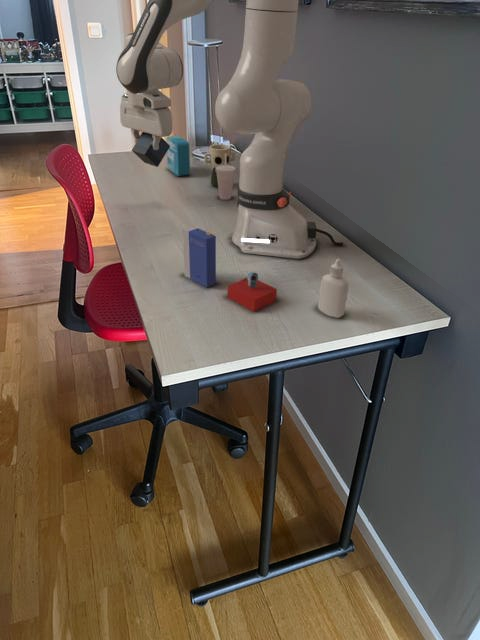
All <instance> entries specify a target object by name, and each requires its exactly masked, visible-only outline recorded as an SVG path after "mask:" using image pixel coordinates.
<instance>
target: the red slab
mask: <svg viewBox="0 0 480 640" xmlns="http://www.w3.org/2000/svg"><path fill="white" fill-rule="evenodd" d="M277 291H278V289H277V288H276V287H273V286H272V285H269V284H268V283H265V282H263V281H261V280H259V275H258V273H257V272H249V274H248V275H247V277H245V278H243V279H240V280H238V281H236V282H233V283H231V284H229V285H227V298H228V299H229V300H231V301H233V302H236V303H237V304H239V305H241V306H243V307H245V308H246V309H248V310H250V311H252V312H256V311H258V310H260V309H263V308H264V307H266V306H268V305H270V304H272V303H274V302H275V301H277V294H278V293H277Z"/></svg>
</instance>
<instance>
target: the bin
mask: <svg viewBox="0 0 480 640" xmlns="http://www.w3.org/2000/svg"><path fill="white" fill-rule="evenodd" d="M139 135H140V137H139V139H138V140H137V142H136V144H135V143H134V145H133V147H132V148H131V151H132V152H133V153H134V154H135V155H136V156H137V157H138V158H139V160H141V161H142V162H143V163H144V164H147V165H151V166H152V167H153V166H154V167H156V168H159V166H160V164H161V163H162V161H163V159H164V157H165V156H166V155H167V151H168V149H169V147H170V145H169V144H168V143H167V142H166V140H165V139H164V137H161V139H160V142H159V149H158V150H153V149H151V143H153V140H154V138H152V134H149V133H145V132H142V131H141V134H139Z"/></svg>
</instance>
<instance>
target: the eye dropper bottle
mask: <svg viewBox="0 0 480 640" xmlns="http://www.w3.org/2000/svg"><path fill="white" fill-rule="evenodd" d="M343 272H344V265H342V264H341V259H340V258H337V259H336V260H335V262H334V263H332V264H331V265H330V271H329V273H327V274H324V275H322V277H321V281H320V289H319V297H318V304H317V305H318V306H317V308H318V311H320V312H321V313H323V314H324V315H326V316H329V317H332V318H335V319H339V318H341V317H343V316H344V315H345V312H346V306H347V299H348V292H349V287H350V286H349V285H350V284H349V281H348V280H347V279H346V278H345V277H344V276H343V275H344V273H343Z"/></svg>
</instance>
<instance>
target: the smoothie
mask: <svg viewBox="0 0 480 640" xmlns="http://www.w3.org/2000/svg"><path fill="white" fill-rule="evenodd" d="M215 171H216V172H217V181H218V186H217V188H218V197H219V199H220V200H223V201H226V200H227V201H229V200H231V198H232V194H233V193H232V192H233V185H234V178H235V173H236V167H235V166H233V165H230V166H229V165H227V153H225V165H221V166H217V167H216V170H215Z"/></svg>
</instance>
